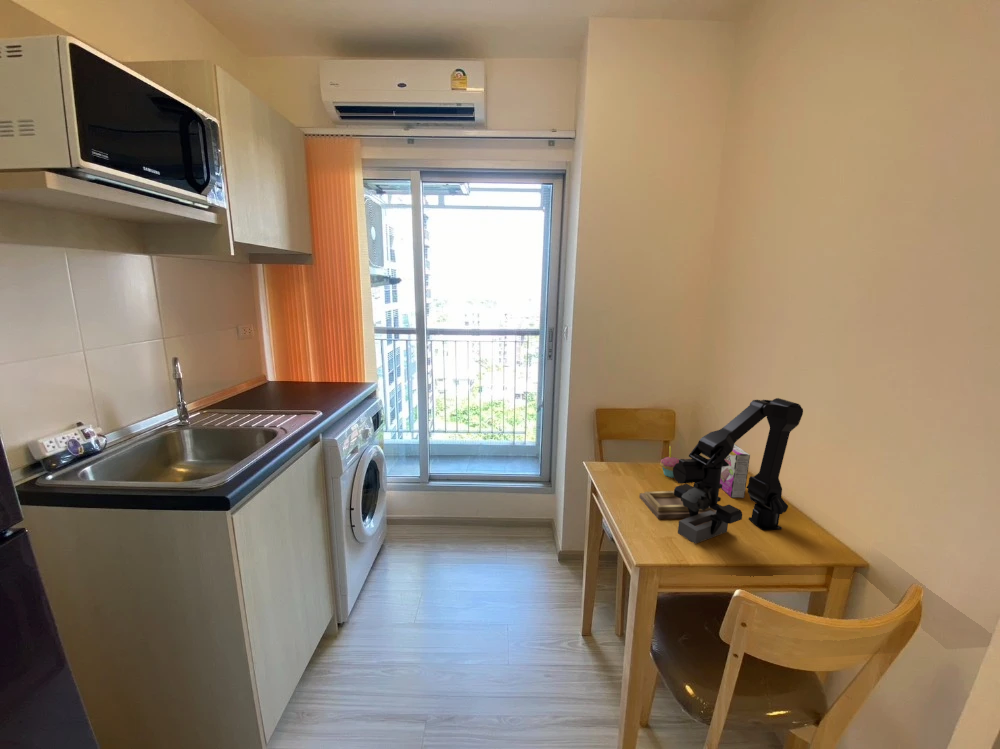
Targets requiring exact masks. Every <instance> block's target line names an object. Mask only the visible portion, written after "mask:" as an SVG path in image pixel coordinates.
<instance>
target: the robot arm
mask: <svg viewBox="0 0 1000 749" xmlns="http://www.w3.org/2000/svg"><path fill="white" fill-rule="evenodd" d="M803 414H804V408H802V406H801V404H799V403H797V402H794V401H789V400H786V399H783V398H779V397H777V398H773V399H772V400H770V399H752V401H751V402H750V403H749V405H748V406H747V407H746V408H744V409H743V410H742V411H741V412H740V413H739V414H737V415H736V416H735V417H734V418H733V419H732V420H730V421H729V422H728V423H726V425H724V426H723V427H722V428H720V429H718V430H715V431H710V432H708V433H707V434H705V435H704V436H702V437H701V438H700V439H699V440H698V443H697V444H696V445H695V446H694V447H693V449H692V450H691V451H690V453H689V454H688V458H686V459H685V458H678V459H679V463H677V464H675V466H674V467H673V475H674V477H673V478H674V480H675V482H676V483H677V484H680V485H677V486H675V487H674V489H673V491H674V495H675V496H677V497H678V498H680V499H681V501H682V502H683V506H685V507H688V510H689V514H690V517H692V516H695V515H698V512H699V509H702V510H706V509H707V508H708V507H710V508H712V509H714V510H716V513H715V514H714V515H711V516H710V517H711V518H712V525H711V534H712V535H713V534H715V532H716V531H717V530H718V528H719V527H720V526H721V524H722V523H723V522H725V523H728V525H730V524H733V523H736V522H739V521H741V520H742V519H743V511H742V510H741V509H740V508H738V507H735V506H733V505H731V504H726V505H720V504H719V503H718V502H721V499H722V498H721V497H720V496H719V494H720V493H719V492H720V489H722V484H720V478H721V471H722V467H724V466H729V464H728V463H727V462H726V461H725V460H724V459H725V458H726V457H727V456H728V455H729V454H730V453H731V452H732V451H733V448H734V444H735V443H736V442H737V441H738V440H740V439H741V438H742V437H744V435H745V434H747V433H748V432H749V431H750V430H751V429H753V428H754V427H755V426H756V425H758V423H760V422H761V421H762V420H763V419H765V418H766V419H767V423H768V425H769V431H768V434H767V435H768V436H767V439H766V443H765V447H764V452H763V455H762V459H761V464H760V467H759V471H758V472H757V474H755V475H754V476H750V477H749V478H748V483H747V485H746V489H747V494H749V499H750V501H752V502H754V506H753V509H752V512H751V517H748V520H749V521H750V522H752V524H753V525H756V526H757V527H758V528H759V529H760V530H762V531H772V530H773V531H774V530H775V531H776V530H778V531H779V530H780V531H781V530H782V529H783V527H782V526H781V525H779V521H780V516H781V515H783V513H786V512H787V510H788V508H789V504H787V502H786V501H785V500H784V499H783V498H782V496H783V495H782V494H783V487H782V484H781V481H780V473H781V469H782V465H783V462H784V459H785V458H784V457H785V453H786V449H787V446H788V441H789V438H790V433H791V432H792V431H794V429H795V428H796V427H798V426H799V425H800V422H801V420H802V417H803ZM735 445H736V444H735ZM702 455H703V456H702ZM704 456H705V457H704ZM706 457H707V458H706ZM690 483H691V484H693V485H690Z"/></svg>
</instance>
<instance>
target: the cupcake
mask: <svg viewBox="0 0 1000 749" xmlns="http://www.w3.org/2000/svg"><path fill="white" fill-rule="evenodd" d="M668 449H669V450H668V451H669V456H665V457H663V458H661V459H660V463H659V466H660V467H662V468H661V469H662V471H663V475H664V476H666V477H668V478H674V475H673V467H674V466H675V464H677V463H679V459H680V458H677V457H673V456H672V446H671V445H669V447H668Z"/></svg>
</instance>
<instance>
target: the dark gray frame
mask: <svg viewBox="0 0 1000 749" xmlns="http://www.w3.org/2000/svg"><path fill="white" fill-rule="evenodd" d="M714 514H715V512H713V511H711V510H710V511H707V512H704V513H701V514H698V515H695V516H692V517H689V518H682V519H680V520H678V526H677V534H679V535H680V536H682V537H684V538H685V539H686V540H689V541H690V542H691V543H693V544H698V543H701V542H704V541H706V540H709V539H713V538H714V537H717V536H720V535H723V534H724V533H728V528H729V524H728V523H725V522H723V523H722V524H721V526H720V527H719V528H718V530H717V531H716V532H715V534H713V535H712V534H711V525H712V518H711V517H710V516H711V515H714Z"/></svg>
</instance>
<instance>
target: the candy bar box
mask: <svg viewBox="0 0 1000 749" xmlns="http://www.w3.org/2000/svg"><path fill="white" fill-rule="evenodd" d="M750 459H751V454H749V453H748V452H747V451H745V450H744V449H742V448H741V447H739V446H738V445H737V444H734V448H733V451H732V452H731V453H730V454H729V455H728V456H727V457H726V458H725V459H724V460H725V461H726V462H727V463H728V464H729V466H724V467H722V471H721V478H720V484H722V488H721V489H722V491H724V492H725V493H726V494H727V496H729V497H730V498H733V499H745V496H746V495H745V494H746V489H747V480H748V472H749V466H750V465H749V464H750Z"/></svg>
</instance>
